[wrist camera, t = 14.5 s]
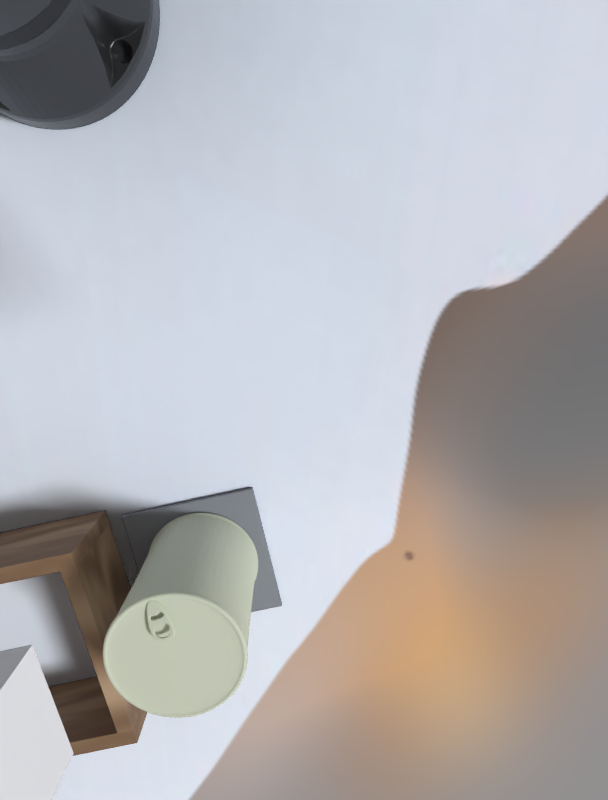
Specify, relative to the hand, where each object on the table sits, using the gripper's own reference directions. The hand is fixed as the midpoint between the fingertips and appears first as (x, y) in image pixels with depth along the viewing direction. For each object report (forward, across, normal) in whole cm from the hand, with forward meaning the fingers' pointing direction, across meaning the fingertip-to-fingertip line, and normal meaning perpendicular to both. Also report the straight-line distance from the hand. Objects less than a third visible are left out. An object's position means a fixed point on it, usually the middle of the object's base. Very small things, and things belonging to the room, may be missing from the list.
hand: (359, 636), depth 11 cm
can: (+31, -12, -14) cm, 36 cm away
